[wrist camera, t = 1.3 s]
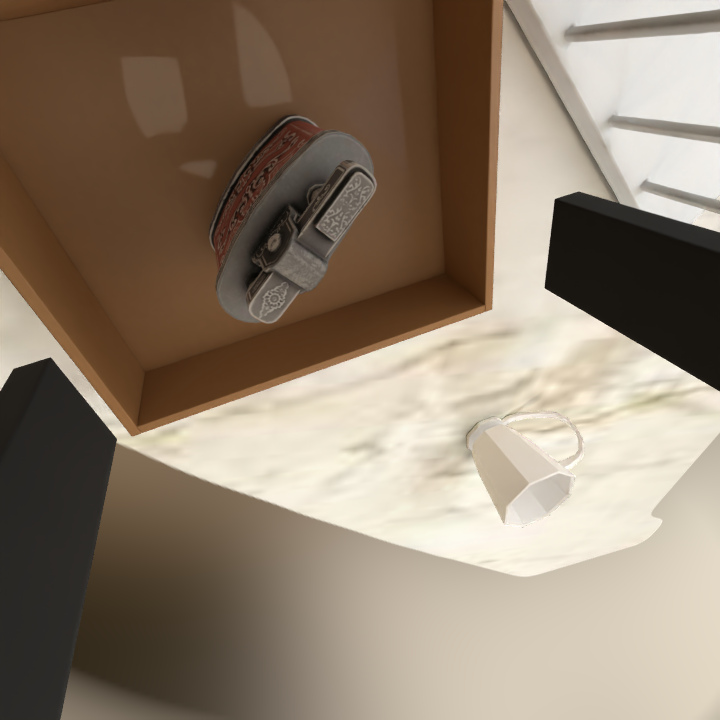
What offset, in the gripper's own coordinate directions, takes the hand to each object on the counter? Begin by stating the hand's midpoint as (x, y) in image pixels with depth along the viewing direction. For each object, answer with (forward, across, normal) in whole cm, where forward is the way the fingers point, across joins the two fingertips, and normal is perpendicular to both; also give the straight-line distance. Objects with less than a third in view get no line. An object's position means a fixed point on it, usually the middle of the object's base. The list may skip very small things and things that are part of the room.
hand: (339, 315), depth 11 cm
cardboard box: (+14, 0, 0) cm, 14 cm away
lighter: (+14, 0, 0) cm, 14 cm away
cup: (+14, +15, -26) cm, 33 cm away
